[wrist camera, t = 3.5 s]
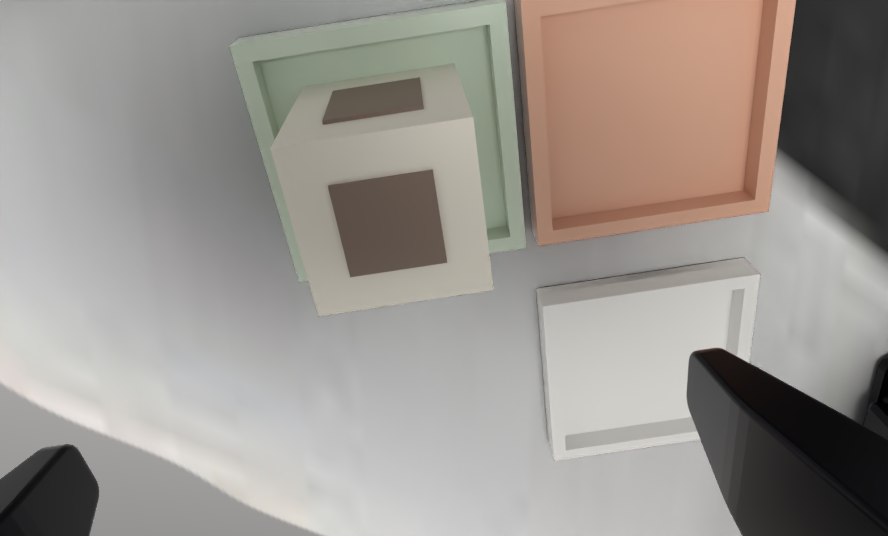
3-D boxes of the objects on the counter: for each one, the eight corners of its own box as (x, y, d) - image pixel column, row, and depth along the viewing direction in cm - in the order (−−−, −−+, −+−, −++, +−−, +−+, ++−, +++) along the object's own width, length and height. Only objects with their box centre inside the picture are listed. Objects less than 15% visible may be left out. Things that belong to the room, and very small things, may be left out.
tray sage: (499, -4, 18) (505, 2, 17) (520, 231, 22) (526, 248, 21) (238, 37, 18) (229, 46, 17) (303, 264, 22) (299, 282, 21)
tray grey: (744, 257, 23) (760, 274, 22) (726, 413, 27) (739, 433, 26) (536, 288, 23) (542, 306, 22) (548, 439, 27) (554, 461, 26)
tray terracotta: (778, -48, 18) (801, -45, 17) (751, 196, 22) (768, 211, 21) (513, -6, 18) (520, -1, 17) (531, 230, 22) (538, 246, 21)
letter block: (453, 59, 19) (473, 113, 14) (472, 202, 21) (494, 292, 16) (302, 83, 19) (268, 145, 14) (336, 223, 21) (318, 318, 16)
